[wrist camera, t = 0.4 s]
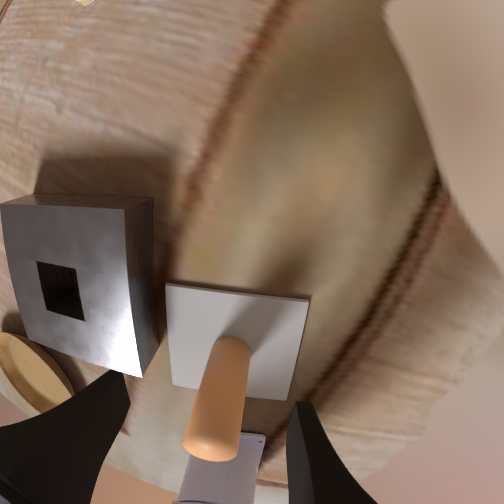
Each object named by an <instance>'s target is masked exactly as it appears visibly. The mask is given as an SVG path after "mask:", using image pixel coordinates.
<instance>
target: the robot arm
mask: <svg viewBox="0 0 504 504" xmlns="http://www.w3.org/2000/svg"><path fill="white" fill-rule="evenodd" d="M130 404H131V403H130V399H129V396H128V392H127V388H126V384H125V380H124V376H123V373H122V372H118V371H115V370H112V369H110V370H109V371H107V372H106V373H105V374H103V375H102V376H100V377H99V378H98V379H96V380H95V381H94V382H92V383H91V384H90V385H88V386H87V387H85V388H84V389H82V390H81V391H80V392H78V393H77V394H75V395H74V396H72V397H71V398H69V399H67V400H66V401H64V402H63V403H61V404H59V405H58V406H56V407H54V408H52V409H50V410H48V411H46V412H44V413H42V414H40V415H38V416H35V417H32V418H30V419H27V420H24V421H21V422H19V423H15V424H11V425H7V426H2V427H0V504H90V502H91V498H92V494H93V490H94V487H95V484H96V480H97V477H98V474H99V472H100V469H101V466H102V464H103V461H104V459H105V457H106V455H107V453H108V451H109V450H110V448H111V446H112V444H113V442H114V440H115V438H116V436H117V434H118V433H119V431H120V429H121V427H122V425H123V423H124V421H125V418H126V415H127V413H128V410H129V407H130ZM265 440H266V436H265V435H263V434H253V433H244V432H240V439H239V446H238V453H237V456H236V457H235V458H233V459H231V460H228V461H222V462H216V461H208V460H204V459H201V458H198V457H196V456H194V455H192V454H190V457H189V460H188V464H187V467H186V471H185V475H184V478H183V482H182V486H181V489H180V493H179V497H178V500H177V501H173V502H172V504H254V495H255V484H256V473H257V471H258V467H259V464H260V460H261V456H262V452H263V448H264V444H265ZM286 459H287V474H288V489H289V504H377V502H376V501H374V500H373V498H372V497H371V496H370V495H369V494H367V492H366V491H365V490H364V489H363V488H362V487H361V486H360V485H359V484H358V482H357V481H356V480H355V479H354V478H353V476H352V475H351V474H350V472H349V471H348V470H347V468H346V467H345V465H344V464H343V462H342V461H341V459H340V458H339V456H338V455H337V453H336V451H335V450H334V448H333V446H332V444H331V443H330V441H329V439H328V437H327V435H326V433H325V431H324V429H323V427H322V425H321V423H320V421H319V418H318V416H317V414H316V411H315V408H314V406H313V404H312V403H311V402H297V401H296V403H295V406H294V409H293V413H292V416H291V419H290V422H289V426H288V429H287V441H286Z"/></svg>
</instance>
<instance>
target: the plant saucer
mask: <svg viewBox="0 0 504 504" xmlns="http://www.w3.org/2000/svg"><path fill="white" fill-rule="evenodd" d="M0 368H1V369H2V371H3V373H4V375H5V376H6V378H7V379H8V381H9V382H10V384H11V385H12V386H13V388H14V389H15V390H16V391H17V392H18V393H19V395H20V396H21V397H22V398H23V399H24V400H25V401H26V402H27V403H28V404H29V405H30V406H32V407H33V408H34V409H35V410H37V411H38V412H39V413H41V414H42V413H44V412H46V411H48V410H50V409H52V408H54V407H56V406H58V405H59V404H61V403H63V402H64V401H66V400H67V399H69V398H71V397H72V396H74V395H75V393H74V390H73V387H72V385H71V383H70V381H69V379H68V378H67V376H66V374H65V373H64V372H63V370H62V369H61V368H60V366H59V365H58V364H57V363H56V361H55V360H54V359H53V358H52V357H51V356H50V355H49V354H48V353H47V352H46V351H45V350H44V349H42V348H41V347H40V346H39V345H37V344H36V343H35V342H33V341H31V340H30V339H28V338H25V337H23V336H20V335H17V334H14V333H9V332H0Z"/></svg>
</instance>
